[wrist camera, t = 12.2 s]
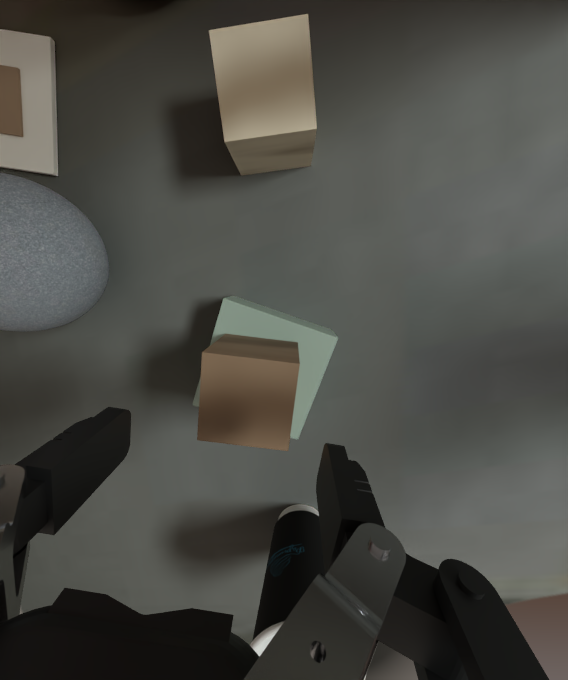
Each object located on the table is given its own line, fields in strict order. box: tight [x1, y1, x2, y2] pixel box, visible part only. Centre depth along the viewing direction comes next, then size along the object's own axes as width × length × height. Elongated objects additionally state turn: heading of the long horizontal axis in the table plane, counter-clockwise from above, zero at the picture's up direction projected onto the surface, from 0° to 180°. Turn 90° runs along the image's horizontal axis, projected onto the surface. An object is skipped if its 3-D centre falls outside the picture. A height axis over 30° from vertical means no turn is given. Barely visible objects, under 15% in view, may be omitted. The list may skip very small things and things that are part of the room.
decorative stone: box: [0, 173, 109, 331], centre depth 19 cm, size 10×10×10 cm
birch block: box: [209, 14, 317, 176], centre depth 18 cm, size 6×6×6 cm
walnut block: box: [197, 334, 300, 451], centre depth 19 cm, size 6×6×6 cm
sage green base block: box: [192, 296, 338, 440], centre depth 23 cm, size 9×9×4 cm
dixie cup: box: [250, 504, 366, 680], centre depth 23 cm, size 8×8×11 cm
